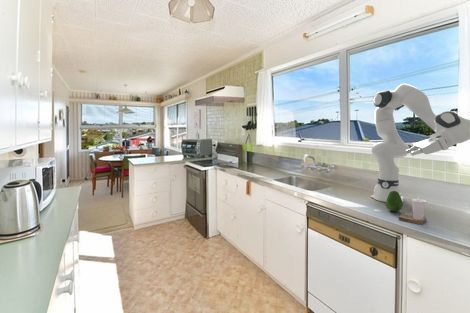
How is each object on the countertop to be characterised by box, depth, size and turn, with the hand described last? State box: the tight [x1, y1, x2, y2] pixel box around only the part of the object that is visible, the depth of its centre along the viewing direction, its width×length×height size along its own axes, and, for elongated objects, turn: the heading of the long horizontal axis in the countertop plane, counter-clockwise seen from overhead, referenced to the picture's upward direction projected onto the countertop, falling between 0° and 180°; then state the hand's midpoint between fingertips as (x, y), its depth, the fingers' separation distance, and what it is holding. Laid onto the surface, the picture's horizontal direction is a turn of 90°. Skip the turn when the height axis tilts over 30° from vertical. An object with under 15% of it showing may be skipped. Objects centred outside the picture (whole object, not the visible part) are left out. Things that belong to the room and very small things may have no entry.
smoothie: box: [411, 191, 428, 220], centre depth 127 cm, size 6×6×14 cm
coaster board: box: [398, 212, 427, 226], centre depth 130 cm, size 10×10×2 cm
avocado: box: [385, 191, 404, 213], centre depth 143 cm, size 8×8×12 cm
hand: (408, 153), depth 132 cm, fingers open, 8 cm apart
